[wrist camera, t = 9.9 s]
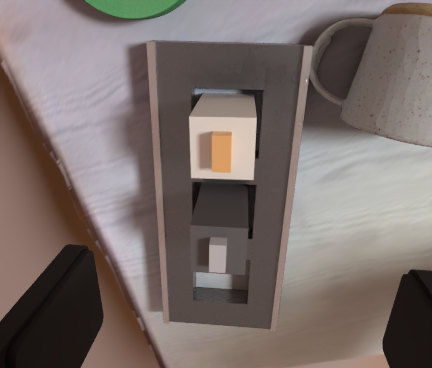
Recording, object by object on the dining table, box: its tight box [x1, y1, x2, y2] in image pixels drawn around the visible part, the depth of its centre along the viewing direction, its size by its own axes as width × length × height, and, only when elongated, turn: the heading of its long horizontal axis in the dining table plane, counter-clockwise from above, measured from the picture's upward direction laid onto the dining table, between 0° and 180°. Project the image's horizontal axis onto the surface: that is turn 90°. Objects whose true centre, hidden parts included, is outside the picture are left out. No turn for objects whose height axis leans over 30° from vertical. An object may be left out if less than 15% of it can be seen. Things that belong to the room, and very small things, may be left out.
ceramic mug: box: [309, 3, 432, 147], centre depth 23 cm, size 11×8×8 cm
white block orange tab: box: [189, 93, 257, 180], centre depth 25 cm, size 4×4×9 cm
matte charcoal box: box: [190, 182, 248, 275], centre depth 29 cm, size 4×4×9 cm
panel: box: [146, 40, 313, 332], centre depth 32 cm, size 12×28×2 cm, turn 179°
